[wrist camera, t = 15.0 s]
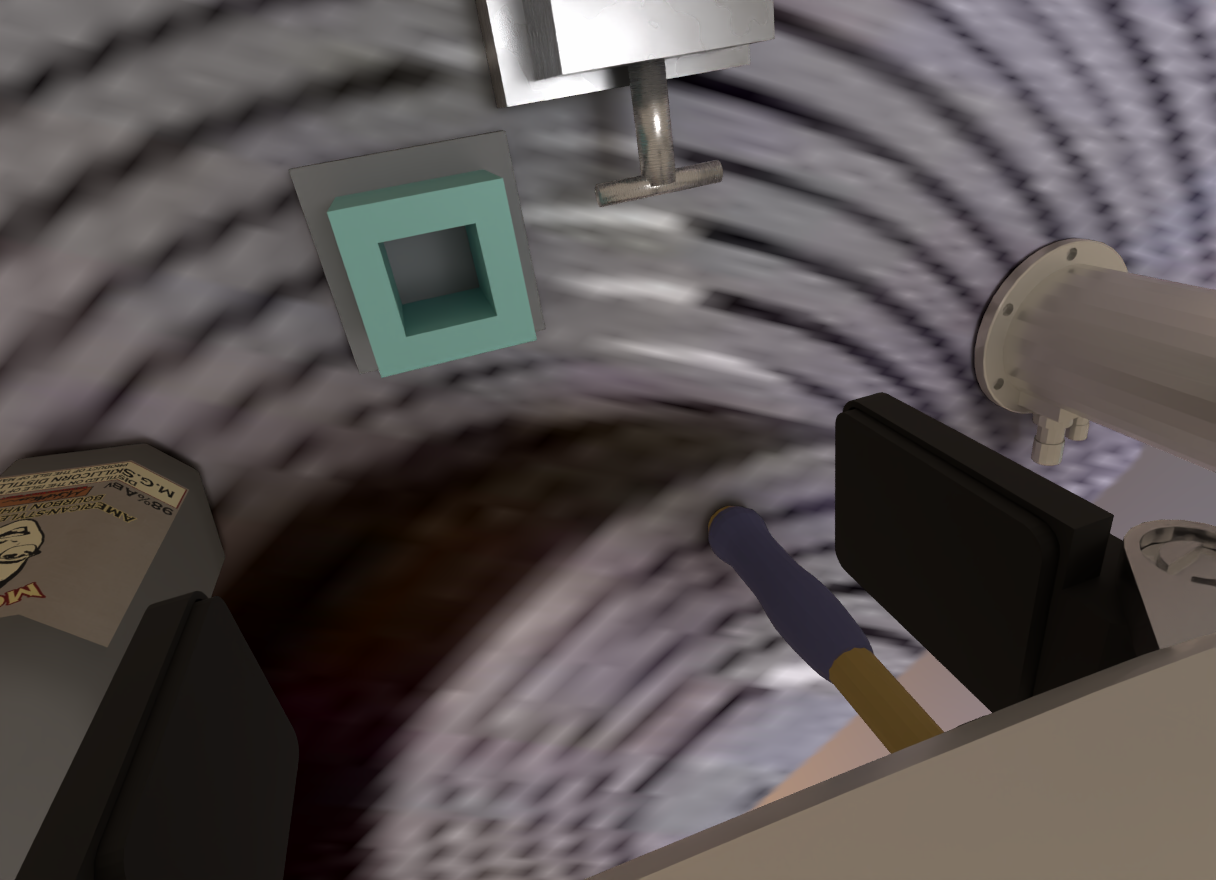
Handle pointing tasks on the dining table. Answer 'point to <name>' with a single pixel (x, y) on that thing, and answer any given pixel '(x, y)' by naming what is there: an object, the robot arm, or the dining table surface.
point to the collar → (444, 320)
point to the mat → (414, 260)
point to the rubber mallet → (819, 628)
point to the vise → (621, 65)
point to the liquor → (82, 602)
